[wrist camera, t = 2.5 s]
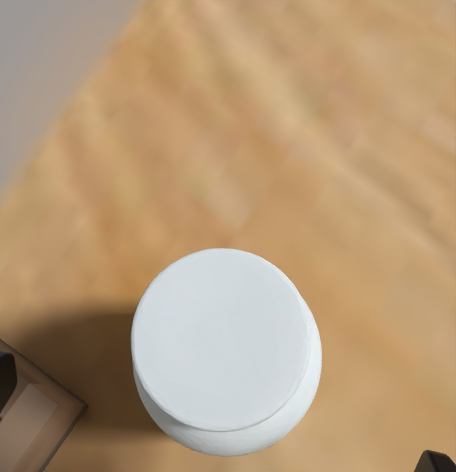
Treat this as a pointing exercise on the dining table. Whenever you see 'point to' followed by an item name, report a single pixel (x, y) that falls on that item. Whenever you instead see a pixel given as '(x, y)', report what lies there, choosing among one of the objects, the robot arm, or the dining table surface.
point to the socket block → (35, 418)
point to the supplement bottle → (225, 352)
